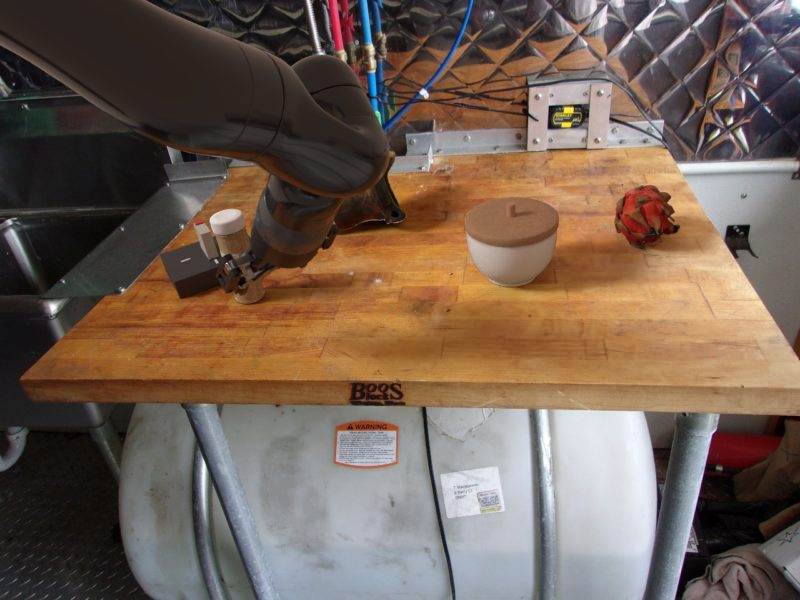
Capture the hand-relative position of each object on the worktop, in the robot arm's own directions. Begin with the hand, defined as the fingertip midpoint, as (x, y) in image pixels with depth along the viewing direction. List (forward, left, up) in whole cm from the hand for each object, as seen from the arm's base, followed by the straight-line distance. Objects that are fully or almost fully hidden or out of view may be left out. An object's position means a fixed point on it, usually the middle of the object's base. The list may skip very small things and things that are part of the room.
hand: (269, 274), depth 74 cm
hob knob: (-3, +23, -6) cm, 24 cm away
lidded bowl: (+32, -9, -9) cm, 34 cm away
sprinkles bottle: (-1, +11, -9) cm, 15 cm away
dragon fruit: (+53, -14, -9) cm, 55 cm away
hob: (-3, +23, -9) cm, 25 cm away
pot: (+25, +21, -9) cm, 34 cm away
